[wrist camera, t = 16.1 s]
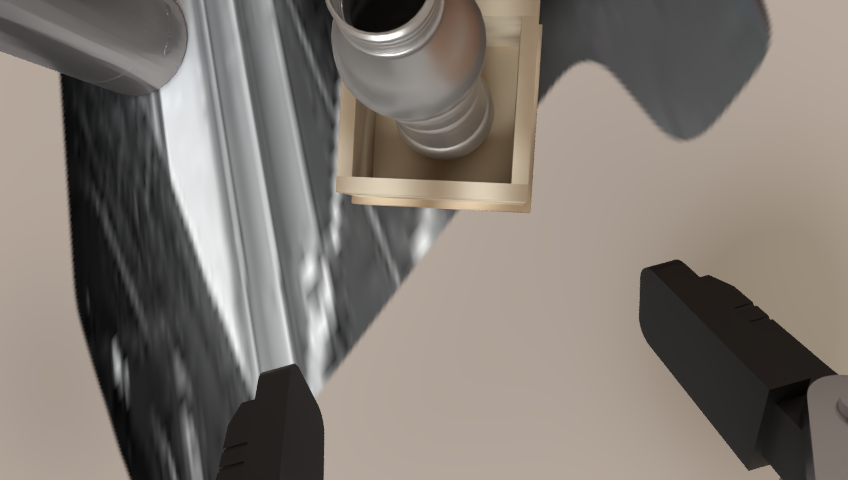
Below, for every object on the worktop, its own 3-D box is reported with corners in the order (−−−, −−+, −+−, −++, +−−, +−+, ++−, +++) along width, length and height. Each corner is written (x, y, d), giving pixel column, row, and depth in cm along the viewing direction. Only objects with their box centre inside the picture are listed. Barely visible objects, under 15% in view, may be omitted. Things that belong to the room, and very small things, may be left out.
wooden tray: (357, 204, 38) (328, 199, 31) (366, 33, 37) (338, -7, 31) (529, 213, 36) (535, 209, 29) (540, 33, 35) (549, -11, 29)
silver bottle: (472, 179, 35) (435, 117, 15) (387, 143, 36) (247, 39, 16) (510, 94, 34) (522, -87, 14) (422, 59, 35) (322, -155, 15)
